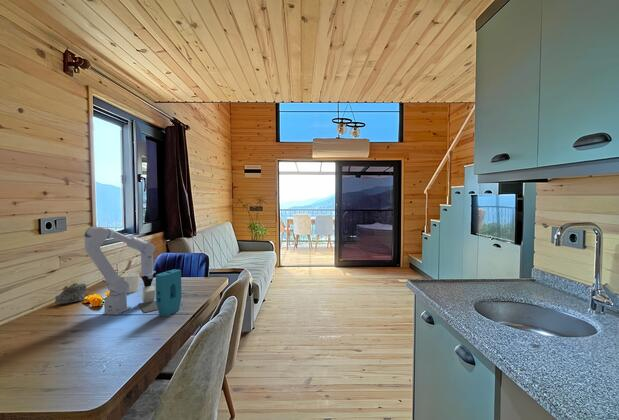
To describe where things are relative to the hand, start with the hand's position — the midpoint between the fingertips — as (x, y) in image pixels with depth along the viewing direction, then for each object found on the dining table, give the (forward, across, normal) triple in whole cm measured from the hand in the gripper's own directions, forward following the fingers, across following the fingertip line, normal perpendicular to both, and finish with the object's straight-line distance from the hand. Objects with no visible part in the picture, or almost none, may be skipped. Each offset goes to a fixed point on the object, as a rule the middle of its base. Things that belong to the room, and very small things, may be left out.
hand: (147, 289), depth 159 cm
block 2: (+7, -24, -4) cm, 25 cm away
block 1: (+3, -2, 0) cm, 3 cm away
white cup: (+7, +27, +3) cm, 28 cm away
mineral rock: (+7, +27, +31) cm, 42 cm away
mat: (+7, -9, 0) cm, 12 cm away
